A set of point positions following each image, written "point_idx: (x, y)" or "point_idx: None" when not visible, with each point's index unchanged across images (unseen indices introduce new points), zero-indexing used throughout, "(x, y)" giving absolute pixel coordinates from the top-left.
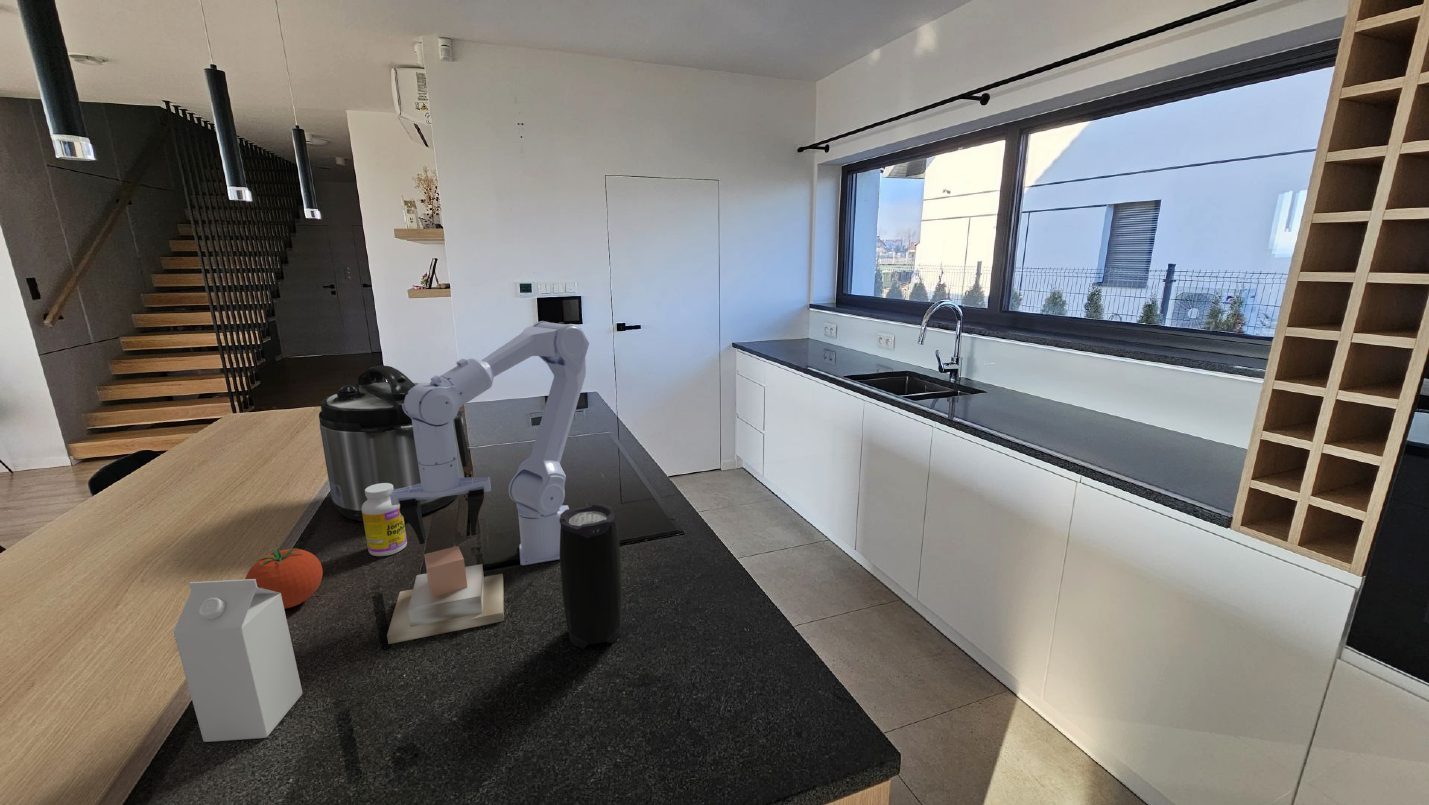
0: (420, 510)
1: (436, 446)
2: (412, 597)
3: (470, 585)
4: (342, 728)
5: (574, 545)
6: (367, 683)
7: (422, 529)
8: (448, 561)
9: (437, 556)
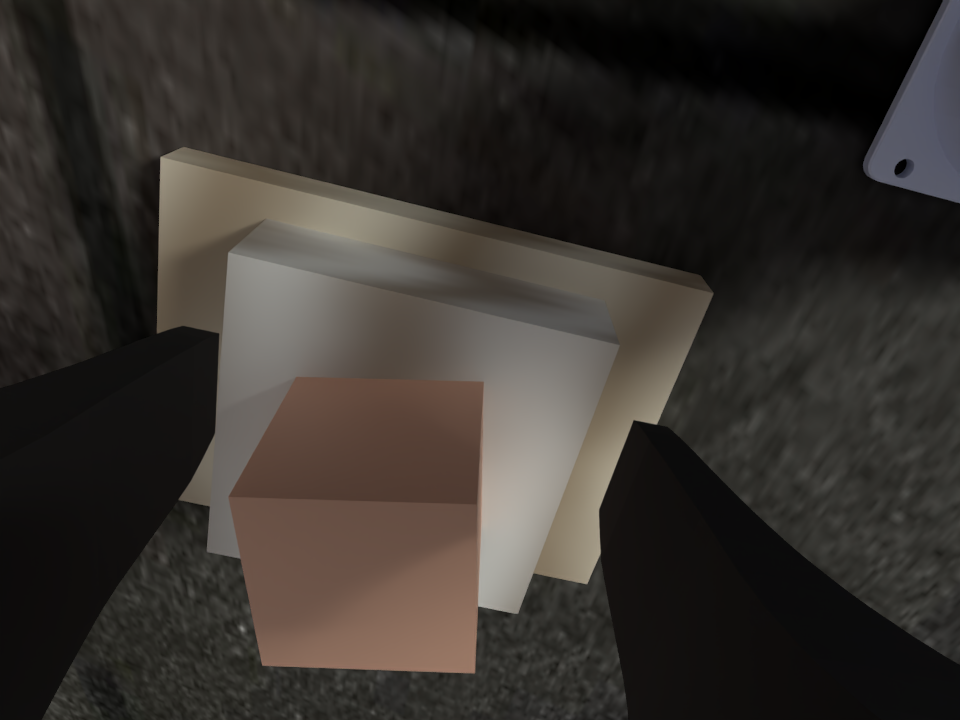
0: (9, 512)
1: None
2: (219, 473)
3: (498, 519)
4: (110, 714)
5: None
6: (137, 609)
7: (151, 472)
8: (382, 656)
9: (319, 570)
